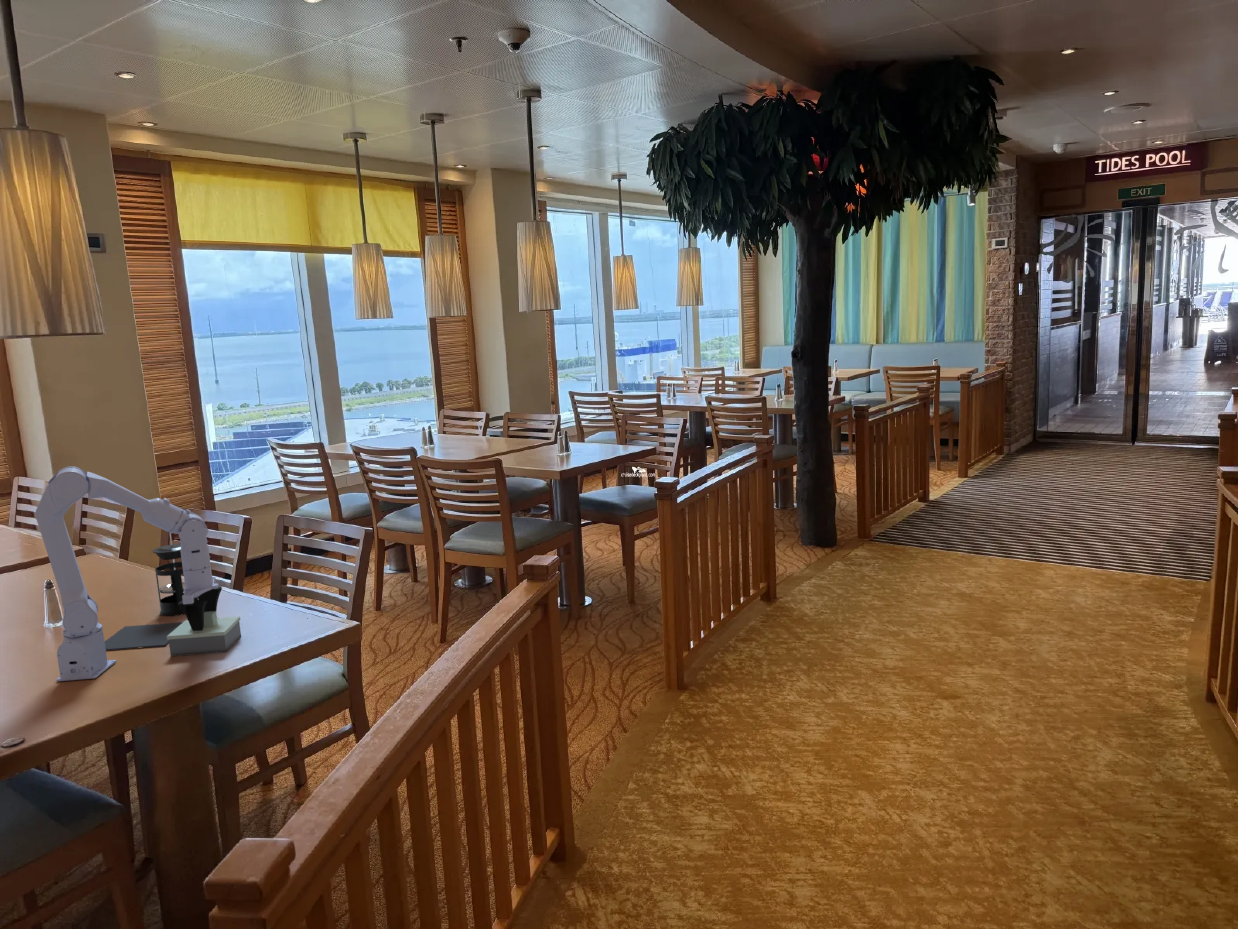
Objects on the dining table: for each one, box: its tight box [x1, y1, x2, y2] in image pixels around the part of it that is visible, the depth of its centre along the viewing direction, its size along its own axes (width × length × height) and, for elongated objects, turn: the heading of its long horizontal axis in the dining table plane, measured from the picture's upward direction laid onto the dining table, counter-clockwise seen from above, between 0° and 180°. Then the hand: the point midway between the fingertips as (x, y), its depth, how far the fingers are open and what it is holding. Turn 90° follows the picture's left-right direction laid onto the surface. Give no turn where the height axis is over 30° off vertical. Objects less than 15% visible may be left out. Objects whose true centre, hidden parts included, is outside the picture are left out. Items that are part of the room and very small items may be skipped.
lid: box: [167, 611, 241, 640], centre depth 196 cm, size 10×12×5 cm
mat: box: [104, 621, 184, 651], centre depth 205 cm, size 16×16×1 cm
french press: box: [152, 532, 198, 617], centre depth 223 cm, size 12×9×23 cm
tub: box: [168, 621, 242, 657], centre depth 196 cm, size 10×12×4 cm
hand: (204, 624), depth 196 cm, fingers open, 7 cm apart
